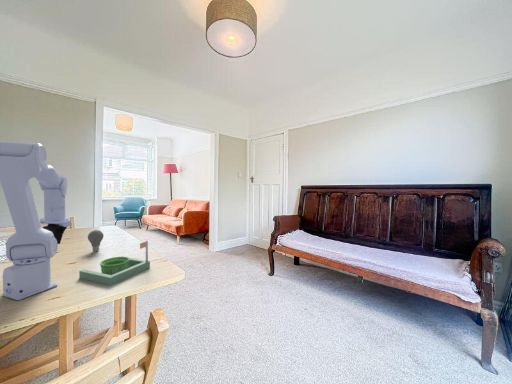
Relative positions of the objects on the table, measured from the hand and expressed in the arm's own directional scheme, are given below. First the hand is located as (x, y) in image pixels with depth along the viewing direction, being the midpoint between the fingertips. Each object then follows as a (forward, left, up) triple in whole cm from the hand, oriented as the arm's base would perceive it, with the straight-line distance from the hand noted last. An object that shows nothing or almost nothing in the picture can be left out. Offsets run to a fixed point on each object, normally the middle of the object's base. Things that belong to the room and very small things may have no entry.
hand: (55, 244), depth 81 cm
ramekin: (+6, -22, -10) cm, 25 cm away
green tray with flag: (+6, -22, -9) cm, 25 cm away
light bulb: (+20, +8, -10) cm, 24 cm away
